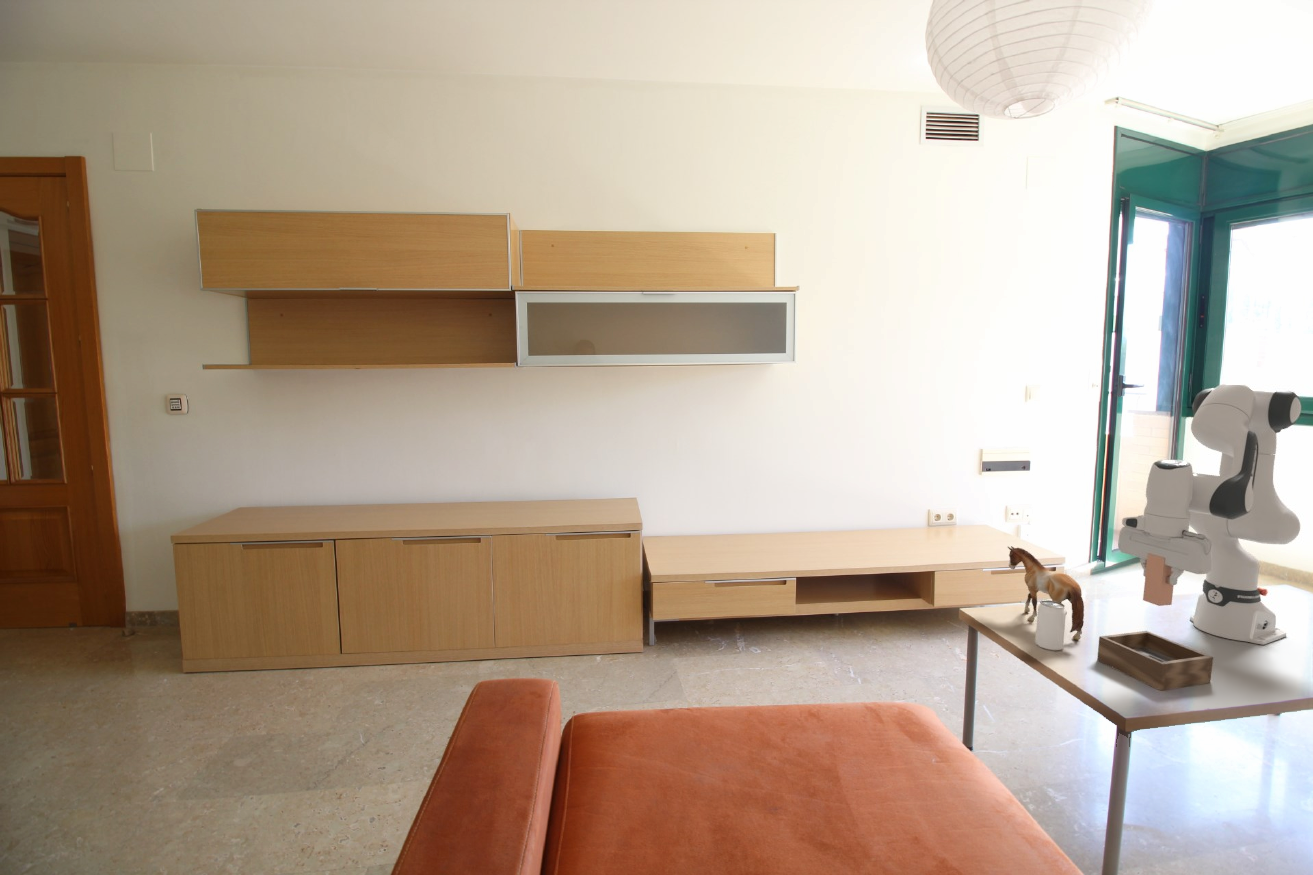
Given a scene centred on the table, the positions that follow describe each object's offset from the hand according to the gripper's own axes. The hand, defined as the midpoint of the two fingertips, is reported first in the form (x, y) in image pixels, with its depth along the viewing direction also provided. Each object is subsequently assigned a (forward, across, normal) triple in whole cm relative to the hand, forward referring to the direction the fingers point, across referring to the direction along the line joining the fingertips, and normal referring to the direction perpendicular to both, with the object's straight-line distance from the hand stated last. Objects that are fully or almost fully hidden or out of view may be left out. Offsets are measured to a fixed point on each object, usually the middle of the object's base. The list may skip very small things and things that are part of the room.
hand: (1159, 580), depth 156 cm
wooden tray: (+23, 0, 0) cm, 23 cm away
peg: (+6, 0, 0) cm, 6 cm away
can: (+24, +18, +13) cm, 32 cm away
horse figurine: (+24, +29, +5) cm, 38 cm away
